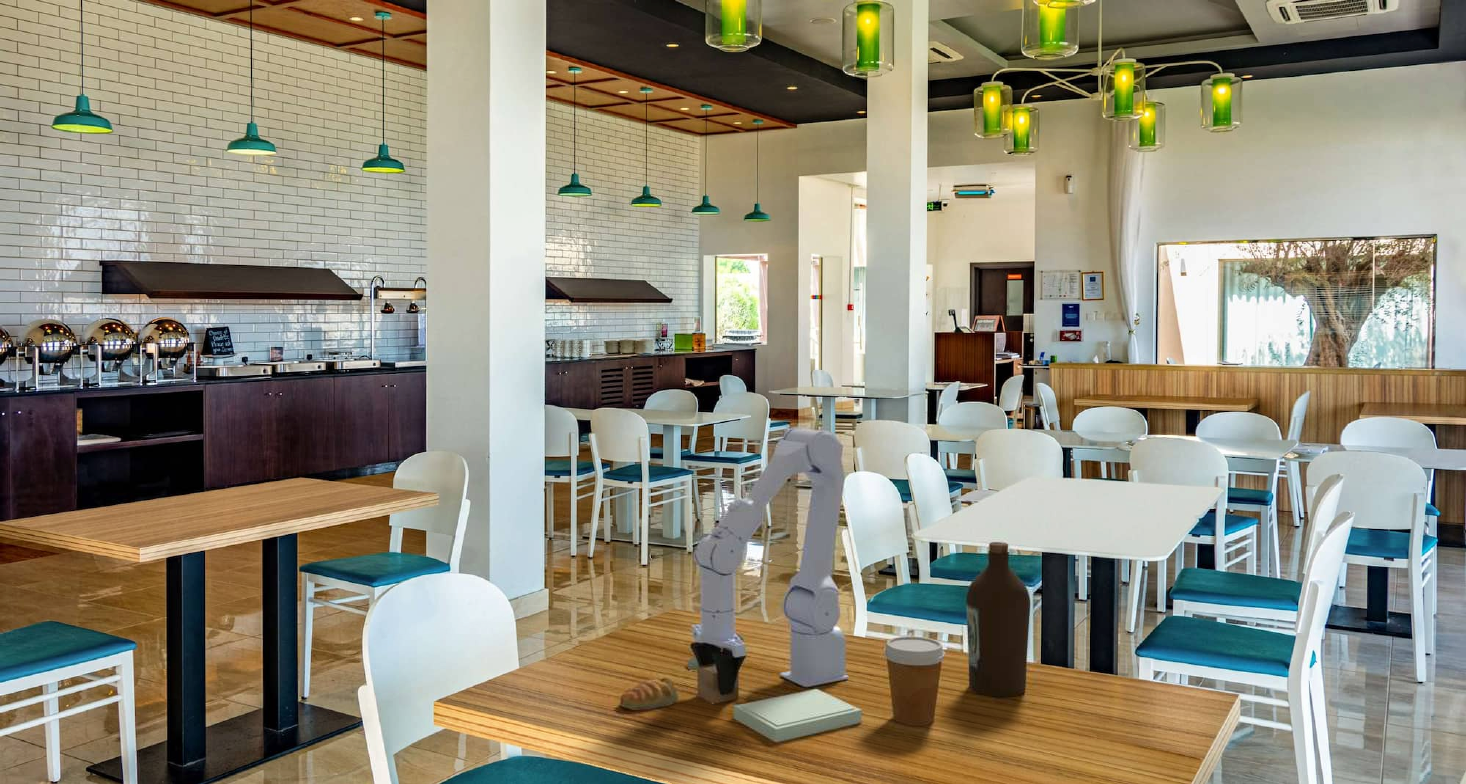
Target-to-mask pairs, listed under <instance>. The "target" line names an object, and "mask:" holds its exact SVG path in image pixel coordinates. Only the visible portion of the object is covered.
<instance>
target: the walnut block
mask: <svg viewBox="0 0 1466 784" xmlns="http://www.w3.org/2000/svg"><path fill="white" fill-rule="evenodd" d="M739 672H740V671H739ZM739 672H738V674H737V678H736V682H735V686H734V690H733V693H731V694H726V695H721V694H720V691H719V684H718V674H717V669H716V665H715V663H713V664H708V665H702V666H697V672H696V673H697V696H698V695H699V696H700V698H701V697H702V698H704V699H706V700H707V701H706V700H705V701H706V702H708V701H709V702H711V703H717V704H720V703H719V702H722V703H724V702H723V701H726V702H730V701H735V700H739V699H740V698H739V696H740V695H739V691H740V690H739V684H740V683H739V679H740V678H739ZM699 696H698V697H699ZM702 698H701V699H702ZM704 699H703V700H704ZM709 702H708V703H709ZM711 703H710V704H711Z"/></svg>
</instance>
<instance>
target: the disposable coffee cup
mask: <svg viewBox="0 0 1466 784" xmlns="http://www.w3.org/2000/svg"><path fill="white" fill-rule="evenodd" d="M883 653H884V654H883V655H884V656H885V658H886V664H887V671H888V682H889V683H888V684H889V689H890V691H889V692H890V698H891V706H892V716H893V720H895V722H896V723H900V724H902V725H905V726H916V727H919V726H920V727H921V726H927V725H930V724H933V722H934V721H935V715H936V714H935V713H936V706H937V700H938V693H939V692H938V691H939V684H940V678H941V670H942V661H943V660H944V657H945V656H946V652H945V650H944V649H943V644H942V643H941V642H940V641H939V640H937V639H934V638H933V639H932V638H929V637H925V636H913V635H910V636H906V635H905V636H898V637H893V638H890V639H887V641H886V644H885V647H884V649H883Z"/></svg>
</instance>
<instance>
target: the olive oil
mask: <svg viewBox="0 0 1466 784" xmlns="http://www.w3.org/2000/svg"><path fill="white" fill-rule="evenodd" d="M988 548H989V550H988V554H987V555H988V558H987V559H988V564H987V565H986V567H985V568H984V569H983V570H982V571H981V572H980V573H979V574H978V575H977V576H976V577H975V578H974V579H973V580H972V581H971V583H970V585H969V586H968V589H967V593H966V597H965V598H966V600H965V603H966V605H965V606H966V607H965V608H966V626H967V627H966V628H967V629H966V630H967V655H968V685H969V686H968V687H969V688H970V689H971V690H972V691H973V692H975V693H977V694H980V695H984V696H989V697H997V698H998V697H999V698H1008V697H1009V698H1010V697H1018V696H1021V695H1023V694H1024V693H1025V692H1026V689H1027V668H1028V667H1027V665H1028V662H1027V661H1028V648H1029V647H1028V646H1029V645H1028V643H1029V632H1030V631H1029V629H1030V616H1031V615H1030V613H1031V597H1030V593H1029V590H1028V588H1027V586H1026V585H1025V583H1024V582H1023V581H1022V579H1021V578H1020V577H1019V576H1018V575H1017V574H1016V573H1015V572H1014V571H1013V570H1012V569H1011V567H1010V565H1009V561H1010V560H1009V558H1010V552H1009V543H1007V542H1002V541H1001V542H1000V541H998V542H997V541H992V542H990V543H989V544H988Z"/></svg>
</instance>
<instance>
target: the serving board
mask: <svg viewBox="0 0 1466 784" xmlns="http://www.w3.org/2000/svg"><path fill="white" fill-rule="evenodd" d="M862 713H863V710H862V709H861V708H858V707H856V706H854V705H852V704H851V703H850V704H849V703H848V702H846V701H844V700H842V699H839V698H838V697H835V696H833V695H831V694H829V693H826V692H824V691H822V690H821V689H818V688H814V689H809V690H804V691H800V692H795V693H790V694H786V695H780V696H775V697H770V698H766V699H762V700H761V699H759V700H757V701H755V700H754V701H751V702H747V703H742V704H737V705H736V704H735V705H734V706H733V719H734V720H736V721H738V722H739V723H741V724H743V725H745V726H747V727H748V728H750V729H751V730H754V732H756V733H759V734H760V735H762V736H764V737H766V738H768V739H769V740H771V741H773V742H775V743H780V742H785V741H788V740H793V739H797V738H802V737H805V736H810V735H815V734H818V733H823V732H827V731H832V730H836V729H840V728H844V727H849V726H852V725H858V724H861V723H863V720H862V718H863V717H862V716H863V714H862Z"/></svg>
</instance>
